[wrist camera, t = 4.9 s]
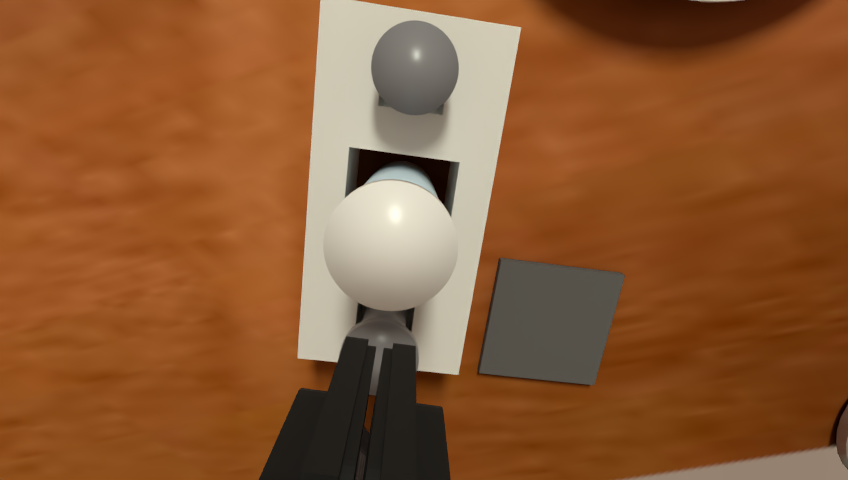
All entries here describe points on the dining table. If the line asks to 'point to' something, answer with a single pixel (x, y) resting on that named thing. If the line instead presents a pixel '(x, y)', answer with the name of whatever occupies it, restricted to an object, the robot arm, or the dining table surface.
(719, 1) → the dinner plate
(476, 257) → the housing
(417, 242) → the cartridge
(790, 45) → the dining table surface
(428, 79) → the plunger
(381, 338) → the plunger
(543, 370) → the mat
